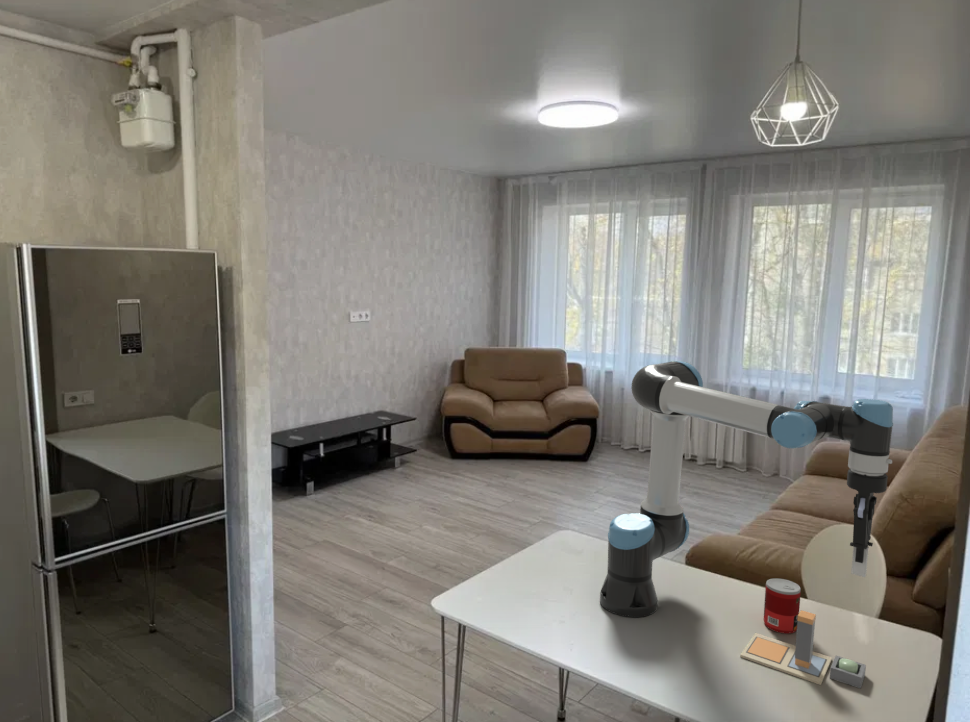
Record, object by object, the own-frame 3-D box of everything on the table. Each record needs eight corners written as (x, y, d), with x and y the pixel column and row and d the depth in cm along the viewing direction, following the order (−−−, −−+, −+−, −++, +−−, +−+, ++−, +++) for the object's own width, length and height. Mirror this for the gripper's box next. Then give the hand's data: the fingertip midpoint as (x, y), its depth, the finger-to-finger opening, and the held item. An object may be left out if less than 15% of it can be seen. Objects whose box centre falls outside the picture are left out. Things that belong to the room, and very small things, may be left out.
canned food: (801, 636, 162) (804, 593, 160) (766, 632, 164) (769, 590, 162) (793, 620, 169) (796, 579, 168) (760, 616, 171) (763, 576, 170)
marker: (794, 664, 149) (797, 615, 147) (797, 658, 151) (800, 610, 150) (809, 669, 147) (812, 620, 145) (812, 662, 149) (815, 614, 148)
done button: (836, 675, 145) (837, 663, 145) (840, 667, 148) (840, 656, 148) (855, 681, 143) (856, 669, 143) (858, 673, 146) (859, 662, 145)
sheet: (740, 656, 153) (740, 654, 153) (755, 635, 162) (755, 632, 162) (820, 685, 142) (821, 681, 142) (831, 659, 152) (831, 657, 152)
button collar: (829, 678, 145) (830, 667, 145) (834, 665, 150) (835, 655, 149) (860, 688, 141) (861, 677, 141) (864, 675, 146) (865, 664, 146)
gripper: (883, 481, 135) (873, 590, 138) (891, 467, 146) (882, 568, 149) (842, 474, 140) (834, 579, 143) (853, 461, 150) (845, 559, 153)
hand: (858, 574), depth 146 cm, fingers closed
